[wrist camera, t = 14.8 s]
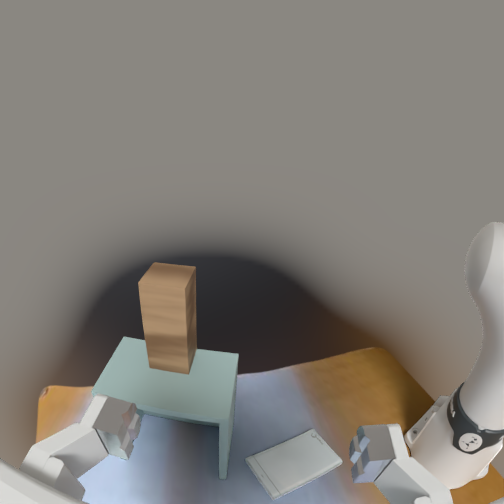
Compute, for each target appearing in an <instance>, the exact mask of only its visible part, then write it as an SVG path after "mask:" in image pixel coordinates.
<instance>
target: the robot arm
mask: <svg viewBox="0 0 504 504" xmlns="http://www.w3.org/2000/svg"><path fill="white" fill-rule="evenodd" d="M465 280H466V285H467V288H468V292H469V294H470V296H471V298H472V300H473V301H474V303H475V304H476V307H477V308H478V311H479V314H480V316H481V320H482V326H483V340H482V346H481V349H480V352H479V355H478V357H477V359H476V362H475V364H474V366H473V368H472V370H471V372H470V374H469V376H468V378H467V379H466V381H465V382H464V383H462V384H461V385H460V387H459V388H457V389H455V390H454V392H453V393H452V394H451V395H450V396H441V395H440V396H439V398H438V399H437V400H436V402H435V403H434V404H433V406H432V407H431V408H430V409H429V410H428V411H427V412H426V413H425V414H424V415H423V416H422V418H421V419H420V420H419V421H418V422H417V423H416V424H415V425H414V426H413V427H412V428H411V429H410V430H409V431H408V432H407V433H406V434H405V436H404V438H403V434H402V431H401V428H400V425H399V424H386V425H385V424H381V425H367V426H360V427H359V428H358V430H357V436H355V437H353V439H352V441H351V443H350V448H349V455H350V460H351V461H352V462H353V463H354V466H353V467H352V469H351V471H352V478H353V483H363V482H374V484H375V485H376V486H377V487H378V489H379V490H380V491H381V492H382V494H383V495H384V496H385V497H386V498H387V500H388V501H389V502H390V503H391V504H453V501H452V497H451V494H450V490H449V489H455V488H458V487H461V486H463V485H465V484H467V483H468V482H470V481H471V480H475V479H480V478H483V477H484V476H485V475H486V474H487V472H488V466H489V463H490V462H491V461H492V459H493V458H494V457H495V456H496V454H497V453H498V452H499V451H500V450H501V448H502V446H503V445H502V441H503V437H504V223H500V222H491V223H489V224H488V225H486V226H485V227H484V228H482V229H481V230H480V231H479V232H478V234H477V235H476V236H475V238H474V239H473V241H472V243H471V245H470V247H469V249H468V252H467V256H466V261H465ZM136 410H137V407H136V404H135V403H132V402H128V401H124V400H120V399H117V398H113V397H110V396H107V395H103V394H100V393H98V394H97V395H95V396H94V398H93V400H92V402H91V404H90V405H89V407H88V409H87V411H86V412H85V414H84V416H83V418H82V420H81V421H80V423H74V424H73V425H71V426H69V427H67V428H65V429H63V430H61V431H60V432H58V433H56V434H54V435H52V436H50V437H48V438H46V439H44V440H42V441H40V442H38V443H37V444H35V445H33V446H32V447H31V449H30V451H29V452H28V454H27V456H26V458H25V459H24V461H23V463H22V465H21V466H20V468H19V469H17V468H15V467H14V466H12V465H10V464H9V463H7V462H6V461H4V460H2V459H1V458H0V504H88V503H86V502H83V501H82V498H83V496H84V493H85V489H84V487H83V486H82V485H81V483H80V482H79V481H78V480H77V478H79V477H80V476H81V475H83V474H84V473H86V472H87V471H88V470H90V469H91V468H92V467H94V466H95V465H96V464H98V463H99V462H100V461H102V460H103V459H104V458H106V457H107V456H108V454H110V455H113V456H117V457H120V458H124V459H128V460H129V457H130V455H131V452H132V450H133V447H134V446H133V443H132V440H134V439H136V438H137V437H138V434H139V431H140V425H141V424H140V417H139V415H138V414H137V413H136ZM414 433H415V434H414ZM404 439H405V441H404ZM405 442H406V443H407V445H408V447H409V448H410V451H411V457H409V455H408V452H407V448H406V445H405ZM489 504H504V497H503V498H500V499H498V500H496V501H494V502H491V503H489Z"/></svg>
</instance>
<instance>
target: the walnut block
mask: <svg viewBox="0 0 504 504" xmlns="http://www.w3.org/2000/svg"><path fill="white" fill-rule="evenodd" d="M139 294H140V303H141V312H142V320H143V328H144V334H145V342H146V349H147V355H148V361H149V367H150V368H152V369H158V370H163V371H169V372H175V373H181V374H188V375H189V373H190V370H191V366H192V363H193V360H194V356H195V353H196V350H197V337H196V267H191V266H182V265H173V264H164V263H155V262H154V263H153V264H152V266H151V267H150V268H149V270H148V271H147V272H146V274H145V275H144V276H143V277H142V279H141V280H140V281H139Z"/></svg>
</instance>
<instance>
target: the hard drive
mask: <svg viewBox="0 0 504 504" xmlns="http://www.w3.org/2000/svg"><path fill="white" fill-rule="evenodd" d="M245 461H246V463H247V464H248V466H249V467H250V469H251V470H252V472H253V473H254V475H255V476H256V478H257V479H258V480H259V482H260V483H261V485H262V486H263V488H264V489H265V490H266V492H267V493H268V495H269V496H270V497H271V499H272V500H275V499H277V498H279V497H282V496H284V495H286V494H288V493H290V492H292V491H294V490H296V489H298V488H300V487H302V486H304V485H306V484H308V483H310V482H311V481H313V480H315V479H317V478H319V477H320V476H322V475H324V474H326V473H328V472H329V471H331V470H333V469H334V468H336V467H338V466H339V465H341V464H342V462H343V461H342V460H341V458H340V457H339V456H338V455H337V454H336V453H335V452H334V451H333V450H332V449H331V448H330V446H329V445H328V444H327V443H326V442H325V441H324V440H323V439H322V438H321V437H320V436H319V434H318V433H317V432H316V431H315V430H314V429H311V430H309V431H307V432H305V433H303V434H301V435H299V436H297V437H295V438H292V439H290V440H288V441H286V442H283V443H281V444H279V445H277V446H274V447H272V448H269V449H267V450H265V451H262V452H260V453H257V454H255V455H253V456H250V457H247V458H246V459H245Z"/></svg>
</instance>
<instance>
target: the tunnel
mask: <svg viewBox="0 0 504 504" xmlns="http://www.w3.org/2000/svg"><path fill="white" fill-rule="evenodd" d="M238 355H239V354H234V353H226V352H217V351H209V350H201V349H197V350H196V353H195V356H194V360H193V363H192V366H191V370H190V373H189V375H188V374H181V373H175V372H169V371H163V370H158V369H152V368H150V367H149V361H148V355H147V349H146V342H145V341H144V340H139V339H134V338H128V337H124V338H123V339H122V341H121V343H120V344H119V346H118V348H117V349H116V351H115V353H114V354H113V356H112V357H111V359H110V361H109V362H108V364H107V365H106V367H105V369H104V371H103V372H102V374H101V376H100V377H99V379H98V381H97V382H96V384H95V386H94V388H93V389H92V391H91V392H92V395H93V397H94V396H95V395H97V394H98V393H100V394H103V395H107V396H110V397H113V398H117V399H120V400H124V401H128V402H132V403H135V404H136V407H137V410H136V413H137V414H138V415H139V417H140V422H141V420H142V417H143V415H144V414H148V415H152V416H157V417H162V418H167V419H172V420H177V421H183V422H189V423H195V424H201V425H208V426H215V427H219V479H223V480H226V476H227V469H228V462H229V454H230V447H231V439H232V432H233V424H234V411H235V396H236V382H237V368H238ZM132 443H133V440H132ZM121 459H124V458H121ZM124 460H126V459H124Z"/></svg>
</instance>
